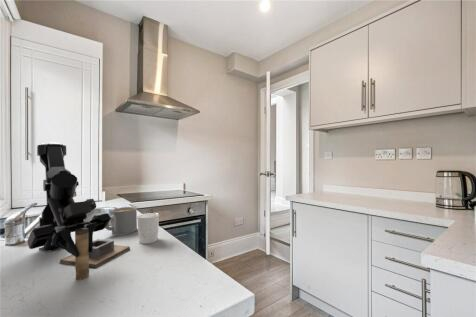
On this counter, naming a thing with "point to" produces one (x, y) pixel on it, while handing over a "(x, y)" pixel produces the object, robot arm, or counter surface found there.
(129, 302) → the counter surface
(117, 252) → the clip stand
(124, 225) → the coffee mug
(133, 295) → the counter surface
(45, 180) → the robot arm
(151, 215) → the white cup
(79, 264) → the wooden peg
